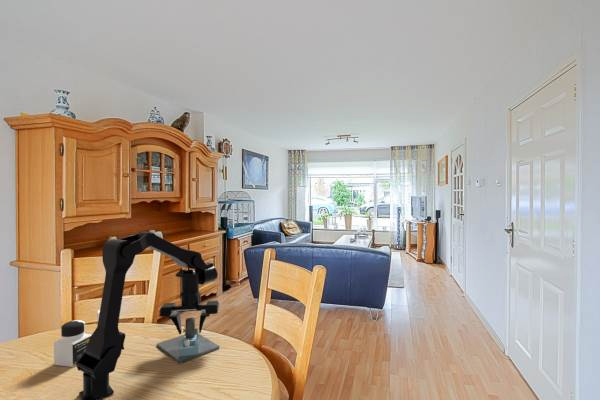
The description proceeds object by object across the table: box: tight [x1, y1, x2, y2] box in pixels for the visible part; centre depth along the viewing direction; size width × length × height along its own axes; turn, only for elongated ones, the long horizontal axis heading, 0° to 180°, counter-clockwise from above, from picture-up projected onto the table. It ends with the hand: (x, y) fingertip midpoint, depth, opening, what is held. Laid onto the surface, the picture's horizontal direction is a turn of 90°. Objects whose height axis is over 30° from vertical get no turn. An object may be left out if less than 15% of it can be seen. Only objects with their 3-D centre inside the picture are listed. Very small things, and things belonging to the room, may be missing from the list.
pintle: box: [185, 339, 190, 347], centre depth 105 cm, size 2×2×5 cm
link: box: [179, 317, 199, 357], centre depth 110 cm, size 14×6×8 cm, turn 15°
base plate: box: [156, 322, 220, 365], centre depth 110 cm, size 17×14×5 cm
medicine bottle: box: [53, 319, 92, 368], centre depth 101 cm, size 7×7×12 cm
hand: (190, 333), depth 111 cm, fingers open, 6 cm apart
